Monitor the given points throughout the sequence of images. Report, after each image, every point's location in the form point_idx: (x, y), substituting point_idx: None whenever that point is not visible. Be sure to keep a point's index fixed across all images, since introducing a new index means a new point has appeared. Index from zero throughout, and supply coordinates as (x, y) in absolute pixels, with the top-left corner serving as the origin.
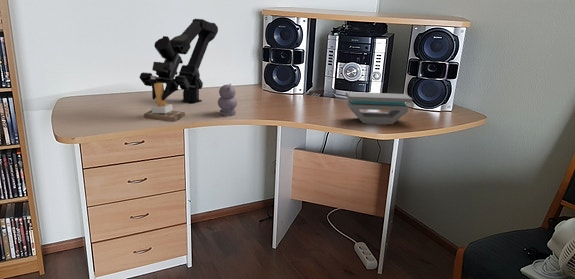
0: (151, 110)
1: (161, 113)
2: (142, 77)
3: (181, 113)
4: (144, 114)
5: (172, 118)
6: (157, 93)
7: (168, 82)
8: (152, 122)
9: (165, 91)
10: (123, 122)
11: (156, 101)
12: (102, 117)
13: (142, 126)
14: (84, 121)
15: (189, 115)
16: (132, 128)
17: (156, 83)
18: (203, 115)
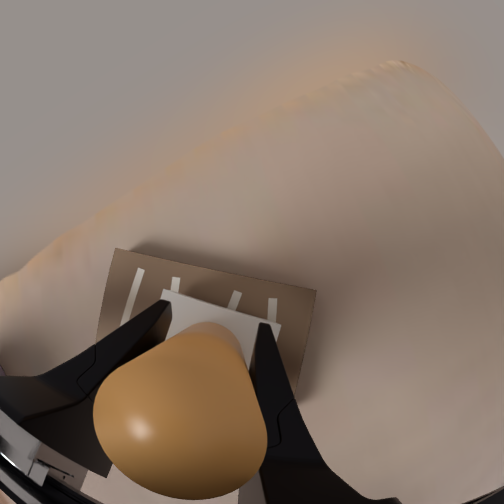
0: (294, 375)
1: None
2: (488, 496)
3: (101, 336)
4: (311, 289)
5: (133, 252)
6: (207, 336)
7: (12, 395)
8: (236, 215)
9: (107, 348)
10: (373, 193)
11: (238, 344)
12: (471, 253)
13: (263, 150)
14: (483, 194)
15: None
16: (295, 123)
17: (219, 446)
18: (42, 369)
